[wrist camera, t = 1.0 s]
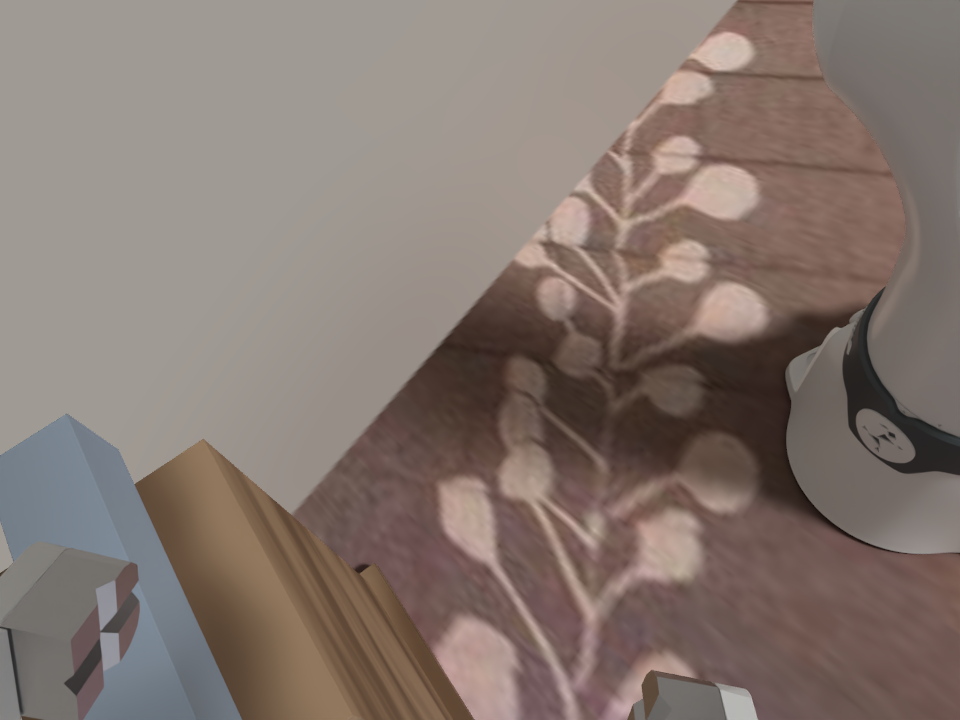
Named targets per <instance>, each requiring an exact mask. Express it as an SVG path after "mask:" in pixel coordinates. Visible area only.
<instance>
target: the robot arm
mask: <svg viewBox="0 0 960 720" xmlns="http://www.w3.org/2000/svg"><path fill="white" fill-rule="evenodd" d="M813 38H814V45H815V51H816V56H817V60H818V63H819V67H820V70H821V72H822V75H823V77H824V80H825V82H826V84H827V86H828V88H829V89H830V90H831V91H832V92H834V93H835V94H836V95H837V96H838V97H839V98H840V99H841V100H842V101H843V103H844V104H845V105H846V106H847V107H848V108H849V109H850V110H851V111H852V112H853V113H854V114H855V116H856V117H857V118H858V119H859V121H860V122H861V123H862V124H863V125H864V127H865V128H866V129H867V130H868V132H869V133H870V135H871V136H872V138H873V139H874V141H875V142H876V144H877V146H878V147H879V149H880V150H881V152H882V154H883V156H884V158H885V160H886V162H887V164H888V166H889V168H890V170H891V173H892V175H893V177H894V180H895V182H896V185H897V188H898V191H899V194H900V197H901V200H902V205H903V210H904V214H905V224H906V229H905V238H904V242H903V245H902V247H901V250H900V253H899V256H898V259H897V262H896V265H895V267H894V270H893V272H892V274H891V277H890V279H889V281H888V283H887V285H886V287H884V288H883V289H882V290H881V291H880V292H879V293H878V294H877V295H876V296H875V297H874V298H873V299H872V300H871V302H870V303H869V305H867V306H866V308H865V309H862V310H860V311H858V312H857V313H855V314H854V315H853V316H852V317H851V318H850V320H849V322H850V324H848V325H846V326H845V327H843V328H839V327H836V328H834V329H833V330H832V331H831V332H830V333H829V334H828V335H827V337H826V338H825V340H824V342H823V343H822V345H820V346H818V347H816V348H814V349H812V350H810V351H808V352H806V353H804V354H802V355H800V356H798V357H796V358H794V359H793V360H792V361H791V362H790V364H789V365H788V367H787V368H786V372H785V378H786V384H787V388H788V391H789V395H790V398H791V412H790V416H789V421H788V426H787V434H786V445H787V453H788V458H789V462H790V465H791V468H792V471H793V474H794V476H795V478H796V480H797V482H798V484H799V485H800V487H801V489H802V490H803V492H804V493H805V495H806V496H807V497H808V499H809V500H810V501H811V503H812V504H813V505H814V506H815V507H816V508H817V509H818V510H819V511H820V512H821V513H822V514H823V515H824V516H825V517H826V518H827V519H829V520H830V521H831V522H832V523H834V524H835V525H836V526H838V527H839V528H841V529H842V530H844V531H845V532H847V533H849V534H850V535H852V536H854V537H856V538H858V539H860V540H862V541H864V542H867V543H869V544H872V545H874V546H878V547H881V548H884V549H888V550H892V551H897V552H903V553H912V554H933V553H947V552H955V553H960V0H814V4H813ZM138 581H139V577H138V566H137V564H135V563H133V562H129V561H125V560H121V559H116V558H112V557H108V556H104V555H100V554H95V553H91V552H87V551H83V550H78V549H74V548H68V547H64V546H60V545H55V544H51V543H46V542H42V541H38V542H36V543H34V544H32V545H31V546H29V547H27V548H26V550H25V551H24V552H23V553H22V554H21V555H20V556H19V557H18V558H17V559H16V560H15V561H14V562H13V564H12V565H11V566H10V567H9V568H8V569H7V570H6V571H5V572H4V573H3V574H2V575H1V576H0V720H20V719H21V716H26V717H31V718H37V719H43V720H83V719H84V718H85V716H86V715H87V713H88V712H89V710H90V708H91V707H92V705H93V704H94V702H95V701H96V699H97V697H98V696H99V694H100V693H101V691H102V690H103V688H104V678H103V672H104V671H105V670H107V669H109V668H111V667H112V666H114V665H116V664H118V663H119V662H120V661H121V660H122V658H123V656H124V655H125V653H126V651H127V650H128V648H129V646H130V644H131V642H132V639H133V636H134V634H135V631H136V629H137V625H138V620H139V614H140V601H139V600H138V599H137V597H136V596H135V595H134V594H133V592H132V590H133V588H134V587H135V585H136V584H137V582H138ZM642 693H643V699H642V700H640V701H638V702H636V703H635V704H633V706H632V709H631V712H630V714H629V717H628V720H758V719H757V715H756V712H755V708H754V704H753V701H752V697H751V695H750V694H749V692H748V691H747V690H746V689H743V688H738V687H733V686H728V685H723V684H718V683H712V682H710V681H705V680H700V679H695V678H690V677H685V676H680V675H675V674H669V673H664V672H659V671H654V670H651V671H650V672H649V673H648V674H647V675H646V677H645V679H644V681H643V683H642Z"/></svg>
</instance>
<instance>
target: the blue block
mask: <svg viewBox="0 0 960 720" xmlns="http://www.w3.org/2000/svg"><path fill="white" fill-rule="evenodd" d="M0 522H1V525H2V527H3V531H4V534H5V537H6V540H7V543H8V546H9V549H10V552H11V555H12V558H13V561H15V560H16V559H17V558H18V557H19V556H20V555H21V554H22V553H23V552H24V551H25V550H26V548H27V547H29V546H31V545H32V544H34V543H36V542H38V541H42V542H46V543H51V544H55V545H60V546H64V547H68V548H74V549H78V550H83V551H87V552H91V553H95V554H100V555H104V556H108V557H112V558H116V559H121V560H125V561H129V562H133V563H135V564H137V566H138V577H139V581H138V582H137V584H136V585H135V587H134V588H133V590H132V592H133V594H134V595H135V596H136V597H137V599H138V600H139V601H140V614H139V620H138V625H137V629H136V631H135V634H134V636H133V639H132V642H131V644H130V646H129V648H128V650H127V651H126V653H125V655H124V656H123V658H122V660H121V661H120V662H119V663H118V664H116V665H114V666H112V667H111V668H109V669H107V670H105V671H104V672H103V678H104V688H103V690H102V691H101V693H100V694H99V696H98V697H97V699H96V701H95V702H94V704H93V705H92V707H91V708H90V710H89V712H88V713H87V715H86V716H85V718H84V719H83V720H242V718H241V716H240V714H239V712H238V710H237V708H236V705H235V703H234V701H233V699H232V697H231V694H230V692H229V690H228V688H227V686H226V684H225V681H224V679H223V677H222V675H221V673H220V670H219V668H218V666H217V664H216V662H215V659H214V657H213V655H212V653H211V651H210V649H209V646H208V644H207V642H206V640H205V638H204V635H203V633H202V631H201V629H200V627H199V625H198V622H197V620H196V618H195V616H194V614H193V611H192V609H191V607H190V605H189V603H188V600H187V598H186V596H185V594H184V592H183V590H182V587H181V585H180V583H179V581H178V579H177V576H176V574H175V572H174V570H173V568H172V566H171V563H170V561H169V559H168V557H167V555H166V552H165V550H164V548H163V546H162V544H161V541H160V539H159V537H158V535H157V533H156V531H155V528H154V526H153V524H152V522H151V520H150V517H149V515H148V513H147V511H146V509H145V507H144V504H143V502H142V500H141V498H140V496H139V493H138V491H137V489H136V487H135V485H134V483H133V480H132V478H131V476H130V474H129V472H128V469H127V467H126V465H125V463H124V461H123V458H122V456H121V454H120V452H119V450H118V449H117V448H115V447H114V446H113V445H111V444H110V443H108V442H107V441H105V440H104V439H102V438H101V437H100V436H98V435H97V434H95V433H94V432H93V431H91V430H89V429H88V428H87V427H85V426H84V425H82V424H81V423H80V422H78V421H77V420H75V419H74V418H72V417H71V416H70V415H68V414H65V415H64V416H62V417H61V418H59V419H57V420H56V421H54V422H53V423H51V424H49V425H48V426H46V427H45V428H43V429H42V430H40V431H38V432H37V433H35V434H34V435H32V436H30V437H29V438H27V439H26V440H24V441H23V442H21V443H19V444H18V445H16V446H15V447H13V448H12V449H10V450H8V451H7V452H5V453H4V454H2V455H0Z"/></svg>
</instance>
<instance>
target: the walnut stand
mask: <svg viewBox="0 0 960 720" xmlns="http://www.w3.org/2000/svg"><path fill="white" fill-rule="evenodd" d="M134 485H135V487H136V489H137V491H138V493H139V496H140V498H141V500H142V502H143V504H144V507H145V509H146V511H147V513H148V515H149V517H150V520H151V522H152V524H153V526H154V528H155V531H156V533H157V535H158V537H159V539H160V541H161V544H162V546H163V548H164V550H165V552H166V555H167V557H168V559H169V561H170V563H171V566H172V568H173V570H174V572H175V574H176V576H177V579H178V581H179V583H180V585H181V587H182V590H183V592H184V594H185V596H186V598H187V600H188V603H189V605H190V607H191V609H192V611H193V614H194V616H195V618H196V620H197V622H198V625H199V627H200V629H201V631H202V633H203V635H204V638H205V640H206V642H207V644H208V646H209V649H210V651H211V653H212V655H213V657H214V659H215V662H216V664H217V666H218V668H219V670H220V673H221V675H222V677H223V679H224V681H225V684H226V686H227V688H228V690H229V692H230V694H231V697H232V699H233V701H234V703H235V705H236V708H237V710H238V712H239V714H240V716H241V718H242V720H474V718H473V717H472V715H471V713H470V712H469V710H468V709H467V707H466V706H465V704H464V702H463V701H462V699H461V698H460V696H459V694H458V693H457V691H456V690H455V688H454V686H453V685H452V683H451V682H450V680H449V678H448V677H447V675H446V674H445V672H444V671H443V669H442V667H441V666H440V664H439V663H438V661H437V659H436V658H435V656H434V655H433V653H432V651H431V650H430V648H429V647H428V645H427V643H426V642H425V640H424V639H423V637H422V636H421V634H420V632H419V631H418V629H417V628H416V626H415V624H414V623H413V621H412V620H411V618H410V616H409V615H408V613H407V612H406V610H405V608H404V607H403V605H402V604H401V602H400V601H399V599H398V597H397V596H396V594H395V593H394V591H393V589H392V588H391V586H390V585H389V583H388V581H387V580H386V578H385V577H384V575H383V573H382V572H381V570H380V569H379V567H378V566H377V565H376V564H375V563H373V564H372V565H371V566H369V567H368V568H367V569H365V570H364V571H362V572H361V573H360V574H359V573H357V572H356V571H355V570H354V569H353V568H352V567H350V566H349V565H348V564H347V563H346V562H345V561H344V560H342V559H341V558H340V557H339V556H338V555H337V554H335V553H334V552H333V551H332V550H331V549H330V548H329V547H327V546H326V545H325V544H324V543H323V542H322V541H321V540H319V539H318V538H317V537H316V536H315V535H314V534H312V533H311V532H310V531H309V530H308V529H307V528H306V527H304V526H303V525H302V524H301V523H300V522H299V521H297V520H296V519H295V518H294V517H293V516H292V515H291V514H289V513H288V512H287V511H286V510H285V509H284V508H282V507H281V506H280V505H279V504H278V503H277V502H276V501H274V500H273V499H272V498H271V497H270V496H269V495H267V494H266V493H265V492H264V491H263V490H262V489H260V488H259V487H258V486H257V485H256V484H255V483H254V482H253V481H251V480H250V479H249V478H248V477H247V476H246V475H244V474H243V473H242V472H241V471H240V470H239V469H237V468H236V467H235V466H234V465H233V464H232V463H231V462H229V461H228V460H227V459H226V458H225V457H224V456H223V455H221V454H220V453H219V452H218V451H217V450H215V449H214V448H213V447H212V446H211V445H210V444H209V443H207V442H206V441H205V440H204V439H202V440H201V441H199V442H198V443H197V444H195V445H193V446H192V447H190V448H189V449H187V450H186V451H184V452H183V453H181V454H180V455H178V456H177V457H175V458H174V459H172V460H171V461H169V462H168V463H166V464H165V465H163V466H161V467H160V468H159V469H157V470H156V471H154V472H152V473H151V474H149V475H148V476H146V477H145V478H143V479H142V480H140V481H139V482H137V483H136V484H134ZM7 569H8V568H7ZM7 569H6V570H7ZM6 570H4V571H3V572H1V573H0V576H1V575H2V574H3V573H4V572H5V571H6ZM21 717H22V720H43V719H37V718H31V717H26V716H21Z"/></svg>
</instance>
